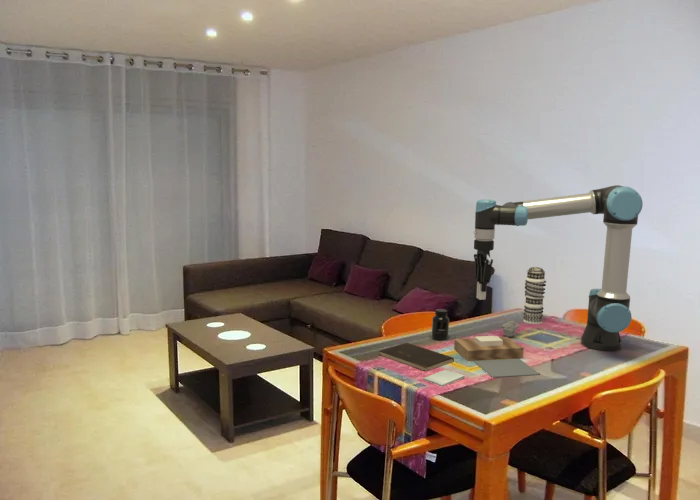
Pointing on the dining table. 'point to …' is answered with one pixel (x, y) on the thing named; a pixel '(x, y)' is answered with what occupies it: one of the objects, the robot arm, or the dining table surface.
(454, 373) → the hard drive
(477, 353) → the brown wooden block
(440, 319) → the supplement bottle
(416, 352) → the hardcover book
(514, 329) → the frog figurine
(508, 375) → the mat
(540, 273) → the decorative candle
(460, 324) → the dining table surface
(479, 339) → the cream rectangular block
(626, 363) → the dining table surface
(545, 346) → the dining table surface
